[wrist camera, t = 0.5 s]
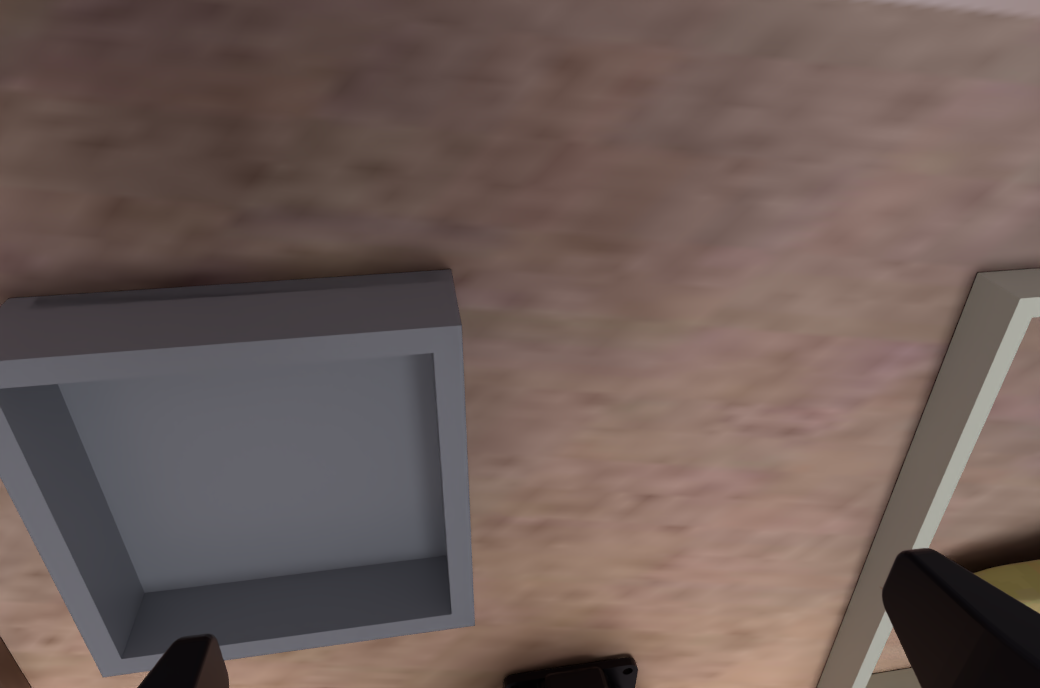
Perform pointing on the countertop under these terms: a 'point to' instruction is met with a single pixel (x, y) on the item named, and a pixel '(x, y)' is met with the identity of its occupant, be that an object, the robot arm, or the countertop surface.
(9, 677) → the track
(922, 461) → the fruit rim
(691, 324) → the countertop surface
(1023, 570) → the banana
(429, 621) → the tray
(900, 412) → the countertop surface
